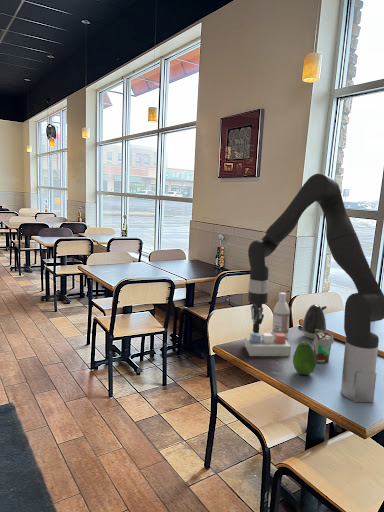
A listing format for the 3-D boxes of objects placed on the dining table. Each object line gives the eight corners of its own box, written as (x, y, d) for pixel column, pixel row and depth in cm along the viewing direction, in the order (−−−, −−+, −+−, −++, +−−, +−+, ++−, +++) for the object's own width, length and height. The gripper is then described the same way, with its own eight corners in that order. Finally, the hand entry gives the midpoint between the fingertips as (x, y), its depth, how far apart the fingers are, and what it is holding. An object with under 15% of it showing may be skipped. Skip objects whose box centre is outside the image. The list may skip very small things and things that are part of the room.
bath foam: (286, 340, 161) (289, 295, 158) (270, 337, 164) (273, 293, 161) (289, 335, 167) (292, 292, 164) (273, 332, 170) (276, 290, 167)
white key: (272, 346, 147) (273, 336, 147) (264, 346, 147) (264, 336, 146) (270, 343, 151) (271, 333, 150) (262, 343, 150) (262, 333, 150)
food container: (334, 367, 136) (336, 341, 134) (317, 365, 137) (319, 339, 136) (329, 354, 148) (331, 330, 146) (313, 352, 149) (315, 328, 148)
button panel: (290, 356, 145) (291, 346, 144) (249, 356, 144) (250, 346, 143) (282, 346, 155) (283, 337, 154) (244, 345, 154) (245, 336, 153)
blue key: (260, 346, 147) (260, 336, 146) (251, 346, 147) (252, 336, 146) (258, 343, 150) (258, 333, 150) (250, 343, 150) (250, 332, 150)
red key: (284, 346, 148) (285, 336, 147) (276, 346, 147) (277, 336, 147) (282, 343, 151) (283, 333, 150) (274, 343, 151) (274, 333, 150)
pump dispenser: (330, 341, 162) (333, 307, 159) (309, 342, 159) (311, 308, 157) (317, 332, 172) (320, 301, 169) (297, 334, 169) (299, 302, 167)
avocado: (287, 372, 131) (289, 340, 129) (302, 367, 135) (304, 335, 134) (305, 381, 125) (308, 347, 123) (320, 376, 129) (323, 343, 127)
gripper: (272, 294, 139) (269, 338, 142) (263, 286, 152) (261, 326, 155) (252, 294, 139) (249, 338, 141) (245, 286, 152) (243, 326, 154)
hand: (255, 332), depth 148 cm, fingers closed
